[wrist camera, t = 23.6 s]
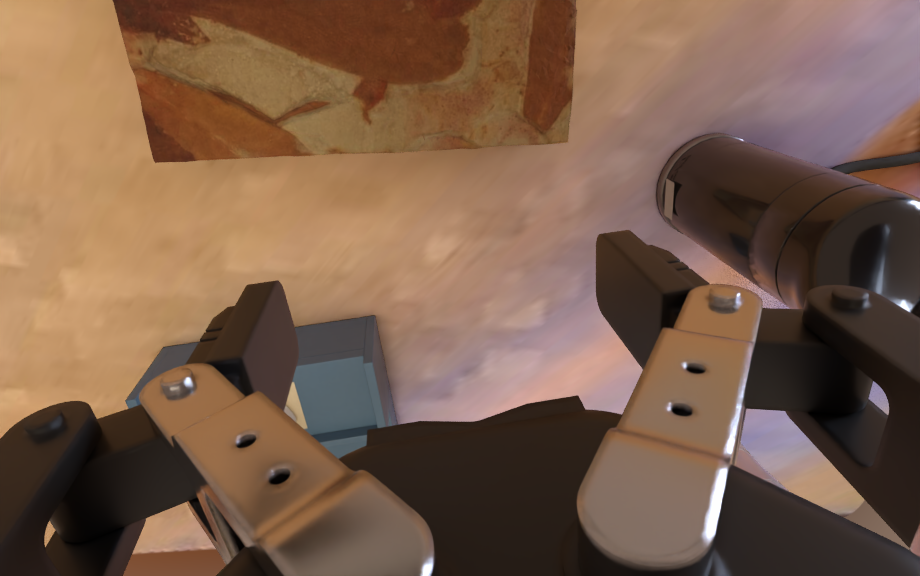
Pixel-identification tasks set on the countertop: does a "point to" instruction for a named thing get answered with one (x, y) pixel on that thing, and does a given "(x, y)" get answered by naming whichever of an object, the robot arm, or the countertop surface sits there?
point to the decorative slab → (348, 75)
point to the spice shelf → (322, 382)
